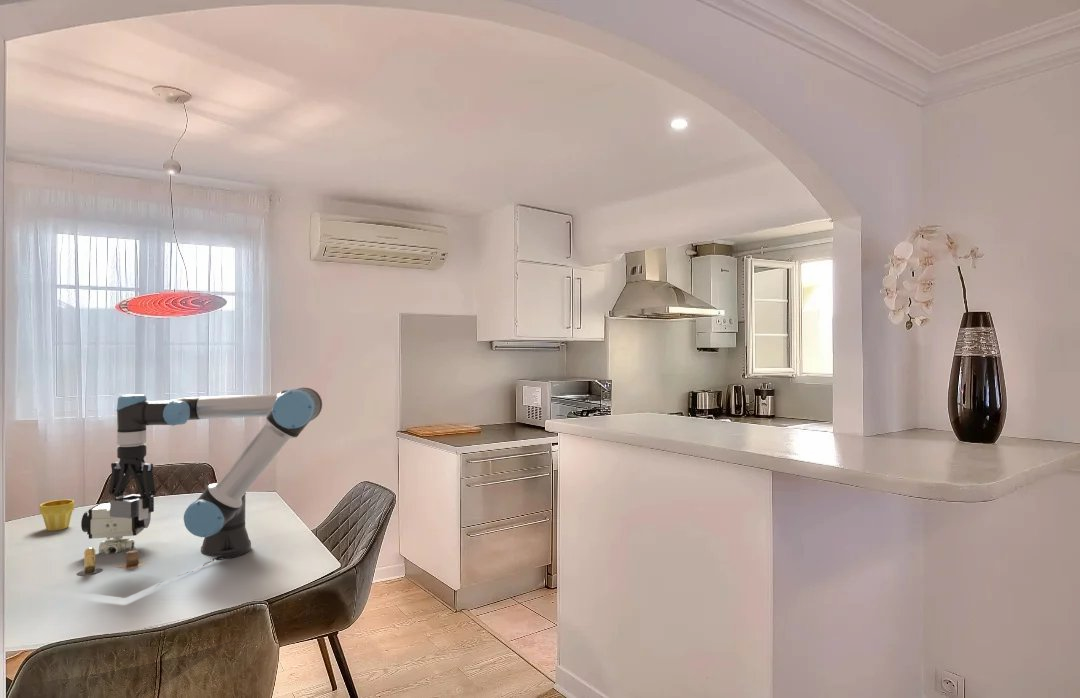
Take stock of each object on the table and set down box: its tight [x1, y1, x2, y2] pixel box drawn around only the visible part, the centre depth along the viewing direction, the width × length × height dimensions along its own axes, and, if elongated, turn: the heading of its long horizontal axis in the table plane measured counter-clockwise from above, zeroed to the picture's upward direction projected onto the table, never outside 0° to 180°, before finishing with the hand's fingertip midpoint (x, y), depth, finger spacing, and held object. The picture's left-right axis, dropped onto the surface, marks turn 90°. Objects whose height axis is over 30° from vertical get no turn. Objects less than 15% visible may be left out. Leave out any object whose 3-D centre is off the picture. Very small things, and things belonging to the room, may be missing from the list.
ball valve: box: [80, 503, 152, 555], centre depth 204 cm, size 18×8×18 cm, turn 105°
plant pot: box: [39, 499, 75, 532], centre depth 232 cm, size 10×10×10 cm
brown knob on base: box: [115, 549, 150, 570], centre depth 190 cm, size 6×6×6 cm
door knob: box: [76, 547, 104, 577], centre depth 184 cm, size 6×6×9 cm
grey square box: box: [109, 493, 155, 518], centre depth 190 cm, size 8×8×5 cm
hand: (132, 517), depth 190 cm, fingers closed on grey square box, 8 cm apart
